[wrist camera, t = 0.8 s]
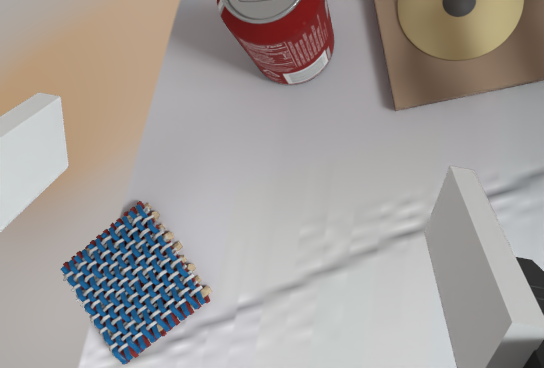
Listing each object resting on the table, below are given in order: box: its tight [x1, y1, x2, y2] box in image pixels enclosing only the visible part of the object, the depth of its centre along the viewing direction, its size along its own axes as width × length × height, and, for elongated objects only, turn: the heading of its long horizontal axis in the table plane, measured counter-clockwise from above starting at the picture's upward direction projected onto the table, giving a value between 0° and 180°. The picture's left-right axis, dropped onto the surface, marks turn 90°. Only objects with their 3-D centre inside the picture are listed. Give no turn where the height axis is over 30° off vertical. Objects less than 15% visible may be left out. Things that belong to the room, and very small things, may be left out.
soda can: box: [217, 0, 334, 85], centre depth 33 cm, size 7×7×12 cm
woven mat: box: [61, 201, 212, 364], centre depth 40 cm, size 10×11×2 cm
